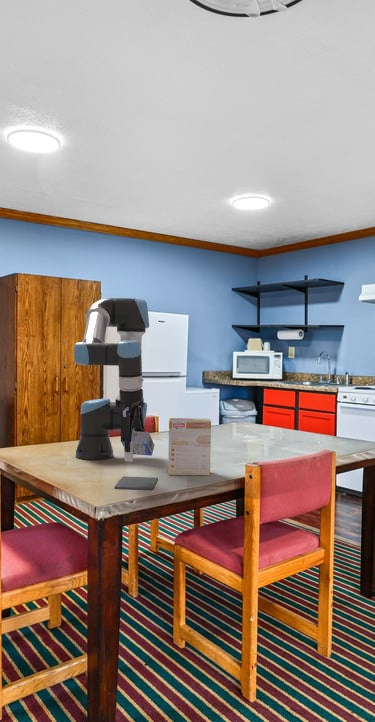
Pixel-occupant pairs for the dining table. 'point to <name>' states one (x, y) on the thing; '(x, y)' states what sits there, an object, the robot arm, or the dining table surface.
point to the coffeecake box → (189, 446)
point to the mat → (136, 483)
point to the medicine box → (142, 443)
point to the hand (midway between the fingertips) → (133, 456)
